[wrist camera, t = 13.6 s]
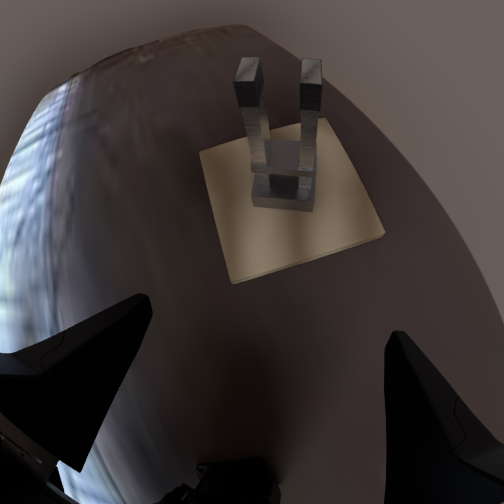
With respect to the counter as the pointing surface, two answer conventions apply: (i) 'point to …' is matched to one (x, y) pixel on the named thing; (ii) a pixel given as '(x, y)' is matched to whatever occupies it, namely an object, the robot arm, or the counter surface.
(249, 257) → the plate
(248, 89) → the two-prong grey stand
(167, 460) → the counter surface
